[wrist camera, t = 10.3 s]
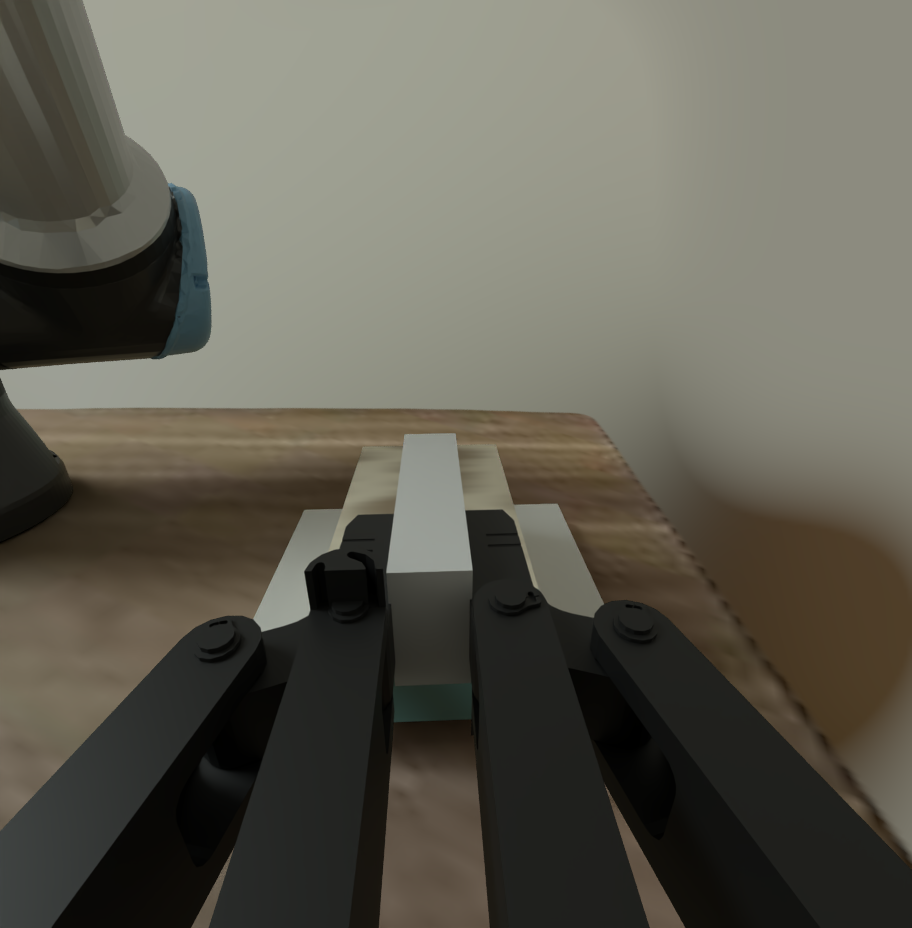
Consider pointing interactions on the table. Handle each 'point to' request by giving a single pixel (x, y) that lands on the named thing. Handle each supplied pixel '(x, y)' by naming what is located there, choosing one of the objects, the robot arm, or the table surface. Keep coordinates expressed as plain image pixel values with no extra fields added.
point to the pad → (542, 532)
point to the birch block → (378, 496)
